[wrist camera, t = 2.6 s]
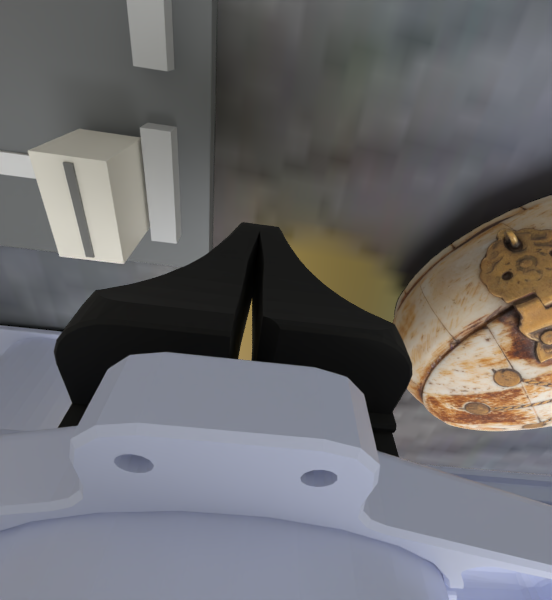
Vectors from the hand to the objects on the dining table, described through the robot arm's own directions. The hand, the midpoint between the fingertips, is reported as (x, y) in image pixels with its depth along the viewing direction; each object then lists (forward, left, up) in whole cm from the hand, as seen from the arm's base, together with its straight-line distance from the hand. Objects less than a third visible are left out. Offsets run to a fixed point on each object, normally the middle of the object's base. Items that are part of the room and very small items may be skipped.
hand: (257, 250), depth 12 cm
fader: (0, +6, -5) cm, 8 cm away
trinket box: (-4, -15, -7) cm, 17 cm away
